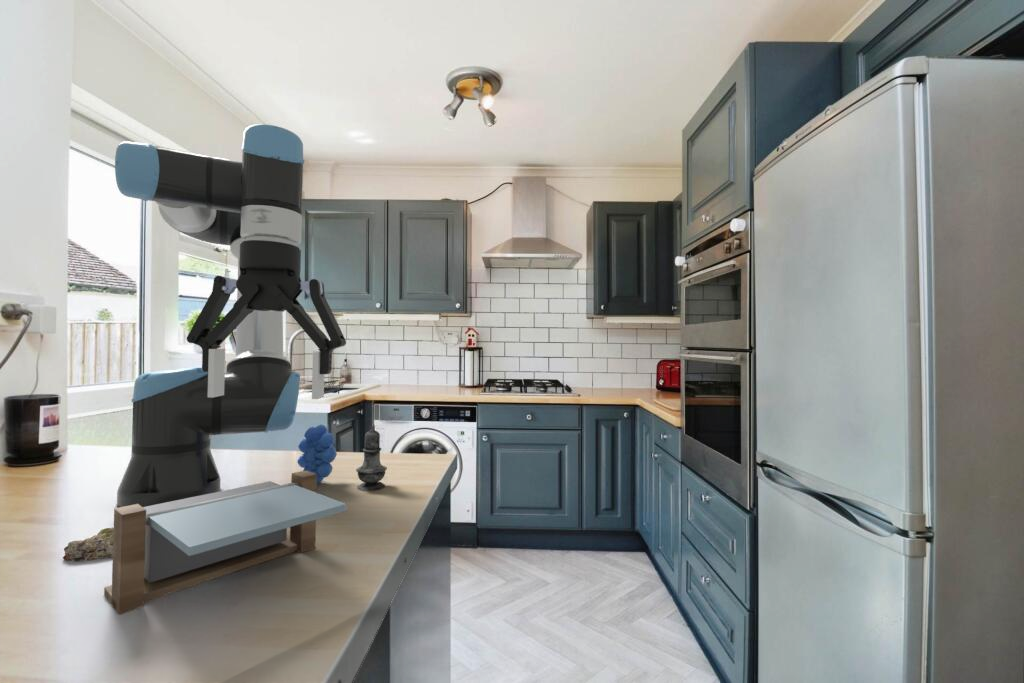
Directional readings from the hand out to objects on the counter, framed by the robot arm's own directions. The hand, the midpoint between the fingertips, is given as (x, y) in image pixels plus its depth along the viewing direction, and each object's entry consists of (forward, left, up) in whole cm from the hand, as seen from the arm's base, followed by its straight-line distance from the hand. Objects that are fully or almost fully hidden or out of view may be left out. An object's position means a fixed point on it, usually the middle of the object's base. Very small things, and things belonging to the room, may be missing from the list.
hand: (267, 397), depth 65 cm
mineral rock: (-14, -13, -21) cm, 28 cm away
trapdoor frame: (+3, -6, -20) cm, 22 cm away
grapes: (-22, +21, -21) cm, 37 cm away
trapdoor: (+8, -6, -19) cm, 22 cm away
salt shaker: (-12, +26, -21) cm, 35 cm away
